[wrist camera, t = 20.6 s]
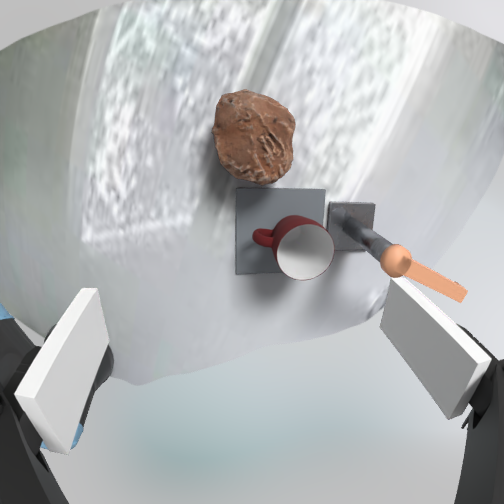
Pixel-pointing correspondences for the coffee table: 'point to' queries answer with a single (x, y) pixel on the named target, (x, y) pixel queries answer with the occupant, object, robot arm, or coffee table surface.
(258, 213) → the mat
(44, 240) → the coffee table surface
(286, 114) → the decorative rock
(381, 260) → the ball-ended drumstick
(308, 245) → the mug
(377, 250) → the clip post
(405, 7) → the coffee table surface
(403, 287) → the robot arm
